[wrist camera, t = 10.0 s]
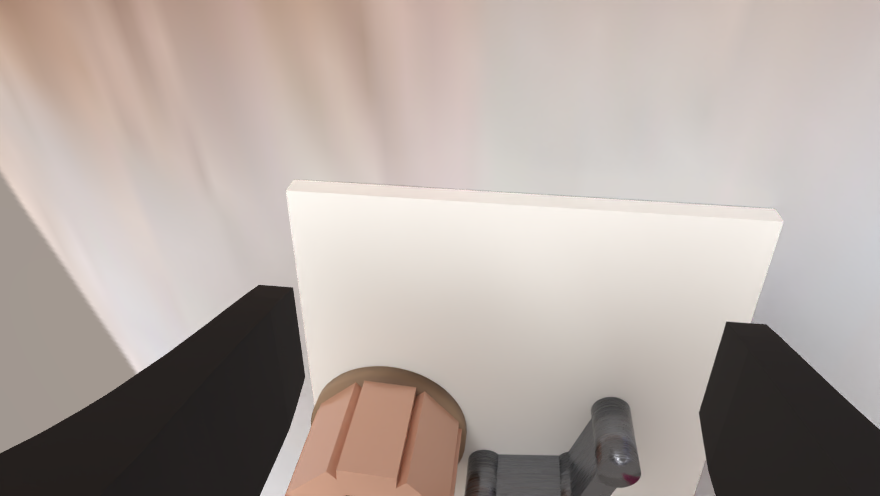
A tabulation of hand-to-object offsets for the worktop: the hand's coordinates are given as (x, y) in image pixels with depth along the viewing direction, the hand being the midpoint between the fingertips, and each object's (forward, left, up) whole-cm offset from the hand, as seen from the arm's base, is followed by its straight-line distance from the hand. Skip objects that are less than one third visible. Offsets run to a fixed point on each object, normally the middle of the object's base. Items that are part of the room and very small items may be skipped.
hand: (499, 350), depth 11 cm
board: (0, +10, -10) cm, 14 cm away
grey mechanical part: (-2, +12, -9) cm, 15 cm away
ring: (+4, +12, -8) cm, 15 cm away
